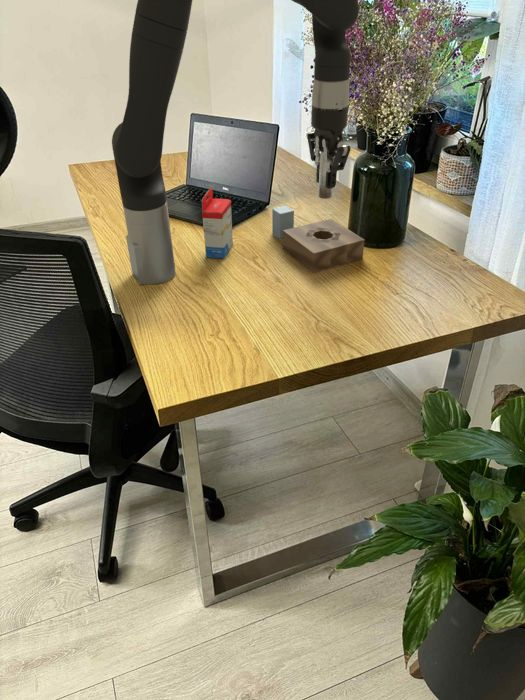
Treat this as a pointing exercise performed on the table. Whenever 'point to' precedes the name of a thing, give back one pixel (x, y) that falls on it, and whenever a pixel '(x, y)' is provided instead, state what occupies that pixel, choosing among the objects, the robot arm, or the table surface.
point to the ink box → (217, 225)
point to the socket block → (323, 245)
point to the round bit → (324, 178)
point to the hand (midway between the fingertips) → (325, 184)
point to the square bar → (282, 220)
